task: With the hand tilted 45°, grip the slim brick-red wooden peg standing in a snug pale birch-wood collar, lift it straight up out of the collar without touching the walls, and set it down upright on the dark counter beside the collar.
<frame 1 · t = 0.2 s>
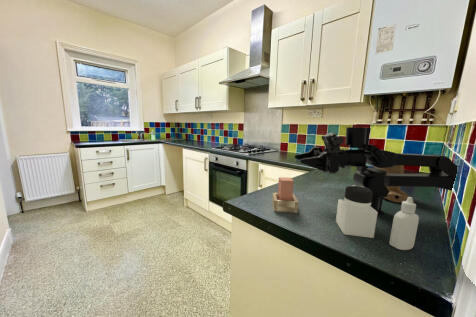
hand: (297, 158, 65), 17 cm above the worktop, tool horizontal, fingers open, 9 cm apart
medicine bottle: (353, 230, 52), on the worktop
red peg: (285, 193, 64), in the birch collar
birch collar: (284, 207, 65), on the worktop
eye dropper bottle: (401, 246, 45), on the worktop
brown piece: (388, 197, 78), on the worktop
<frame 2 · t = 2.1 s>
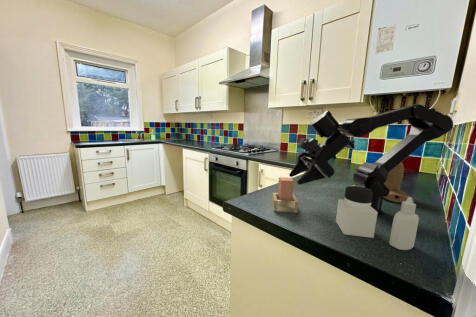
hand: (293, 179, 64), 10 cm above the worktop, tool tilted 45°, fingers open, 9 cm apart
nothing on the worktop moved.
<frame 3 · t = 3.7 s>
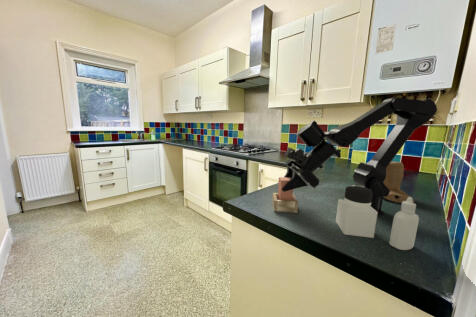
hand: (281, 188, 64), 7 cm above the worktop, tool tilted 45°, fingers closed on red peg, 4 cm apart
red peg: (284, 193, 64), in the birch collar, touching gripper
everything else where it was.
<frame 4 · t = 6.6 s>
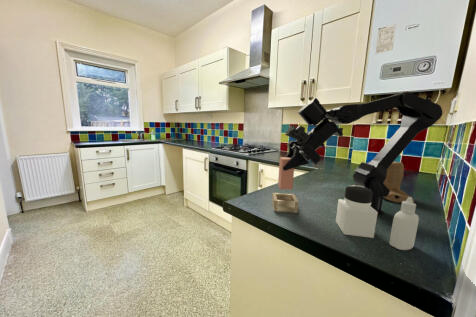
hand: (282, 168, 64), 14 cm above the worktop, tool tilted 45°, fingers closed on red peg, 4 cm apart
red peg: (286, 173, 64), point 12 cm above the worktop, touching gripper
everything else where it was.
when the fingers open (8 cm above the worktop, at t = 9.3 s): red peg stays where it is, on the worktop.
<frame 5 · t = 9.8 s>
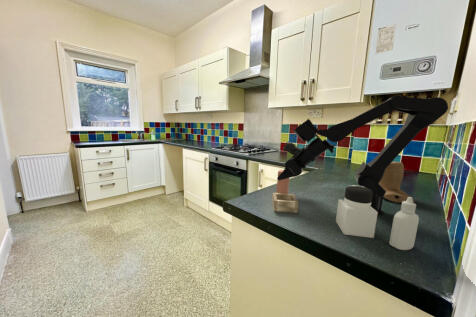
hand: (280, 176, 76), 8 cm above the worktop, tool tilted 45°, fingers open, 9 cm apart
red peg: (283, 183, 76), on the worktop
everything else where it was.
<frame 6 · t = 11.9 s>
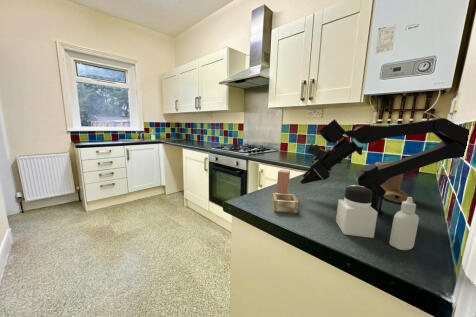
hand: (302, 179, 73), 7 cm above the worktop, tool tilted 45°, fingers open, 9 cm apart
nothing on the worktop moved.
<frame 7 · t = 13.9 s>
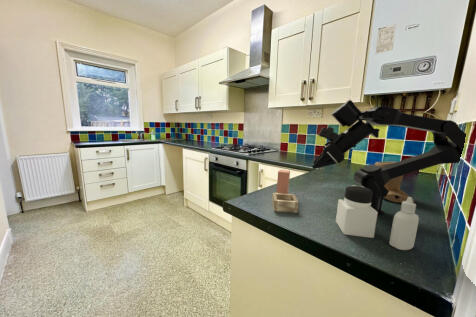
hand: (313, 165, 69), 14 cm above the worktop, tool tilted 45°, fingers open, 9 cm apart
nothing on the worktop moved.
at the end: red peg inside the target area (0.1 cm from its centre), on the worktop; red peg tilted 0°; the gripper is holding nothing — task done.
